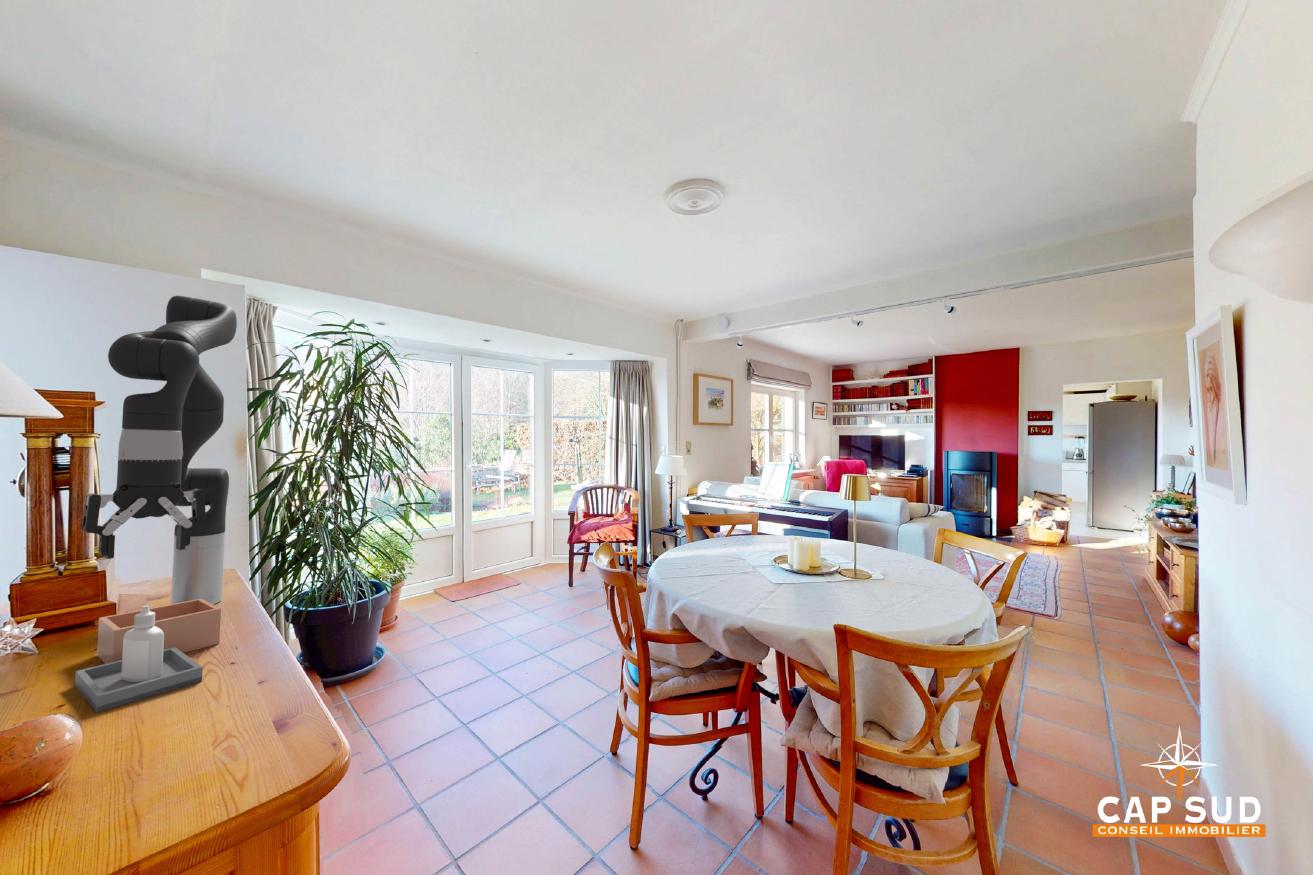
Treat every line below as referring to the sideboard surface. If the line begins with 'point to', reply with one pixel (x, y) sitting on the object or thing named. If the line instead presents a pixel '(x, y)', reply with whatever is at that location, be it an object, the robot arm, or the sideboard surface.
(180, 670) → the charcoal tray
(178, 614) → the open clay trough
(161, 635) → the eye dropper bottle
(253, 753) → the sideboard surface
